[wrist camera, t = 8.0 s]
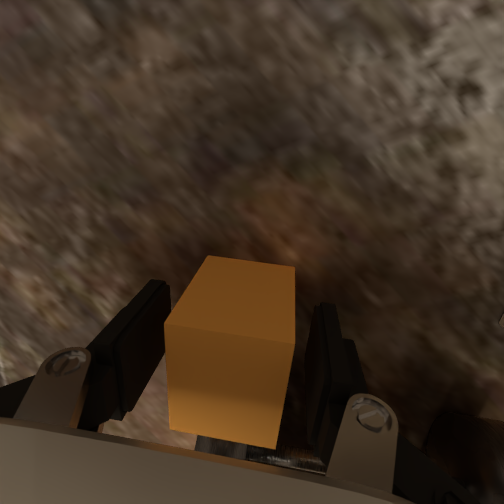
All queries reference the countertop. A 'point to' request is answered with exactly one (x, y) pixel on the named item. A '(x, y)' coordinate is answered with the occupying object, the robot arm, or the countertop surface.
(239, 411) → the block
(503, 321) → the tray
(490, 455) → the trolley
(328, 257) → the countertop surface
